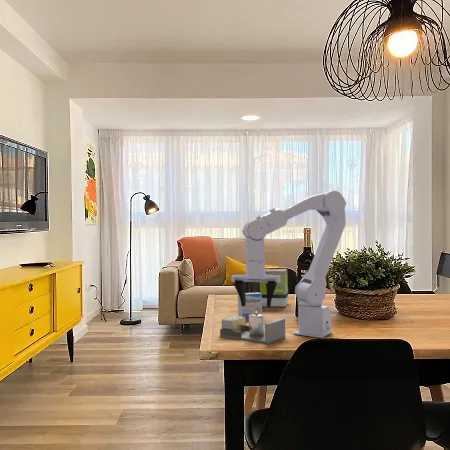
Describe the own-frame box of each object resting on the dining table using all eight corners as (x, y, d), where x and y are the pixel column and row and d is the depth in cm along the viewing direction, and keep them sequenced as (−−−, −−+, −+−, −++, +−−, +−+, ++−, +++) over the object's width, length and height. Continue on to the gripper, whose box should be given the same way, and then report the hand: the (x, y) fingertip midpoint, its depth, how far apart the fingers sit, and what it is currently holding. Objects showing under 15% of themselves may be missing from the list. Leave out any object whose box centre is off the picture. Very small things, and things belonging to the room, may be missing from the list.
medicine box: (241, 318, 166) (241, 294, 166) (238, 316, 170) (237, 292, 170) (262, 317, 168) (262, 293, 168) (258, 315, 172) (257, 291, 172)
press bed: (285, 337, 137) (285, 318, 137) (269, 344, 130) (269, 324, 130) (236, 330, 148) (236, 312, 148) (219, 336, 140) (219, 317, 140)
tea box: (288, 303, 196) (287, 268, 196) (285, 307, 187) (285, 270, 187) (253, 302, 200) (253, 268, 200) (249, 306, 190) (248, 270, 190)
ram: (245, 329, 144) (245, 316, 144) (232, 334, 139) (232, 320, 139) (235, 328, 147) (234, 315, 147) (221, 332, 141) (221, 319, 141)
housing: (265, 333, 140) (264, 310, 140) (263, 337, 135) (262, 313, 135) (250, 333, 141) (250, 310, 141) (248, 336, 136) (247, 313, 136)
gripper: (281, 259, 140) (282, 304, 140) (235, 259, 144) (236, 303, 144) (277, 261, 133) (278, 308, 133) (228, 261, 137) (229, 307, 137)
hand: (256, 306), depth 138 cm, fingers open, 7 cm apart
